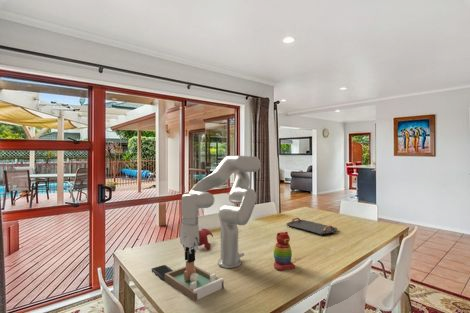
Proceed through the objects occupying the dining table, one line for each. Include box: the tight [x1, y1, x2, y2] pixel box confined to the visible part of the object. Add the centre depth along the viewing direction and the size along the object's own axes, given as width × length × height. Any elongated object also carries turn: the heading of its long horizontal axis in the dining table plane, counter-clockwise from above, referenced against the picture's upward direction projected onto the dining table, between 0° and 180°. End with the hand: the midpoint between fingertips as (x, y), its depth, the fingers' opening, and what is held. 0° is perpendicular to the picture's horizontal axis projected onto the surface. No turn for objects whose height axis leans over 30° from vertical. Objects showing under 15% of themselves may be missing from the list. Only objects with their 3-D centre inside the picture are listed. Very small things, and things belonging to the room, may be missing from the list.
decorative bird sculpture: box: [182, 228, 214, 251], centre depth 163 cm, size 28×9×15 cm
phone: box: [151, 264, 174, 282], centre depth 129 cm, size 8×1×15 cm
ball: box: [190, 273, 199, 282], centre depth 117 cm, size 4×4×4 cm
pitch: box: [164, 265, 225, 302], centre depth 118 cm, size 15×24×5 cm, turn 44°
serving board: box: [286, 217, 338, 237], centre depth 207 cm, size 39×23×6 cm, turn 38°
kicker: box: [184, 250, 196, 281], centre depth 120 cm, size 5×2×13 cm, turn 134°
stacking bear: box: [273, 231, 296, 272], centre depth 137 cm, size 11×10×18 cm
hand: (189, 260), depth 120 cm, fingers closed on kicker, 2 cm apart
